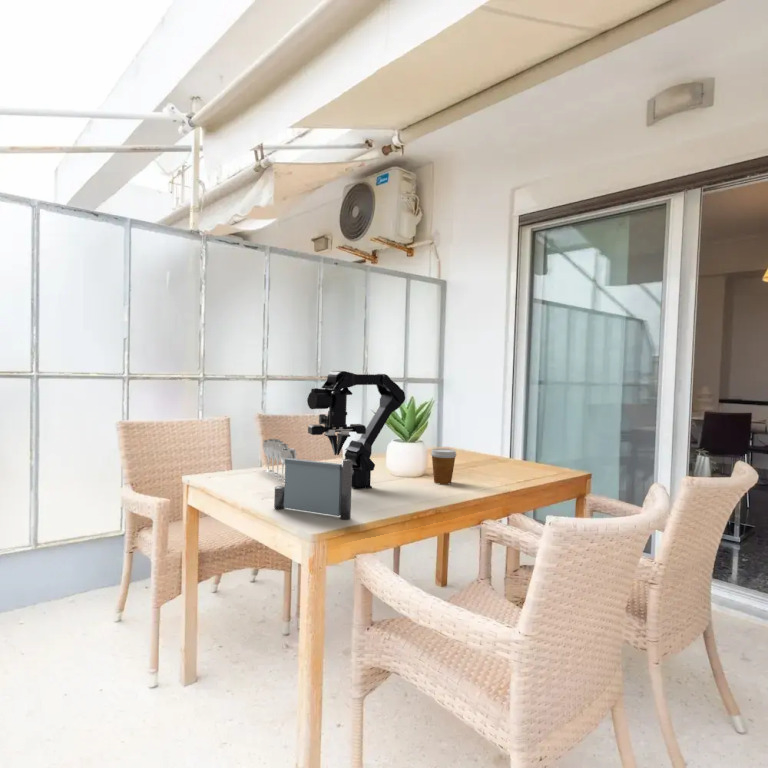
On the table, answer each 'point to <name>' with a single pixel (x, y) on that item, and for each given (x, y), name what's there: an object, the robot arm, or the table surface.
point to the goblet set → (277, 454)
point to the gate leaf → (313, 486)
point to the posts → (345, 491)
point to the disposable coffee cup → (443, 465)
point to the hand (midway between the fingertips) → (336, 455)
